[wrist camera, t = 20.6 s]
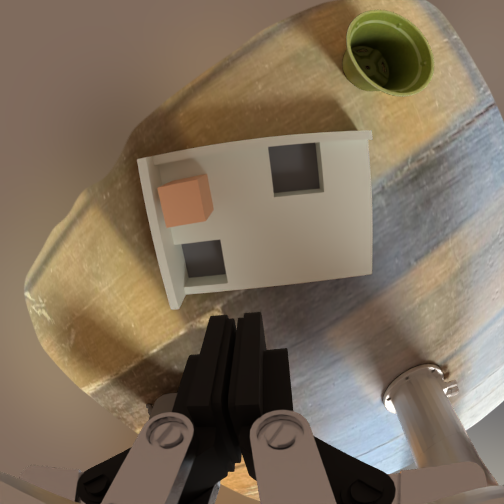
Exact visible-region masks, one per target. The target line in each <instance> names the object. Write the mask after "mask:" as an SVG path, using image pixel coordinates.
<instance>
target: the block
mask: <svg viewBox="0 0 504 504" xmlns="http://www.w3.org/2000/svg"><path fill="white" fill-rule="evenodd" d="M157 189H158V193H159V198H160V202H161V207H162V211H163V215H164V220H165V224H166V228H169V227H175V226H180V225H186V224H192V223H198V222H204V221H206V220H207V219H208V217H209V216H210V214H211V213H212V212H213V210H214V207H213V202H212V197H211V192H210V187H209V182H208V176H207V174H204V175H198V176H193V177H188V178H183V179H179V180H174V181H171V182H169V183H167V184H164V185H162V186H160V187H158V188H157Z"/></svg>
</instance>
